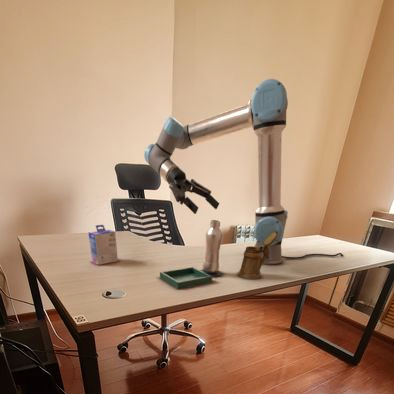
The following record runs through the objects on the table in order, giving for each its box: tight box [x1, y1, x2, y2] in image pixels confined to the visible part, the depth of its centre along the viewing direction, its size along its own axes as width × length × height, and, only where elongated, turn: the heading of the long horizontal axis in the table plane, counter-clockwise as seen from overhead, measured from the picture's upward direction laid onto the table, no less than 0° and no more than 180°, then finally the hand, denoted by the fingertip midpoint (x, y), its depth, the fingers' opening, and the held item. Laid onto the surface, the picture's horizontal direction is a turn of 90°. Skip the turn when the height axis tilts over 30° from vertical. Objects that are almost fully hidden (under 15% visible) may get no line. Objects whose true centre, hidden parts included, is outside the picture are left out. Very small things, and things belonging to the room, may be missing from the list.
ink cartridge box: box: [87, 224, 119, 266], centre depth 126 cm, size 10×6×14 cm, turn 137°
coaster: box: [200, 269, 223, 278], centre depth 126 cm, size 9×9×1 cm
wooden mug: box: [238, 231, 278, 280], centre depth 122 cm, size 9×14×18 cm, turn 101°
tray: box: [159, 266, 213, 290], centre depth 116 cm, size 16×13×2 cm
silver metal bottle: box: [202, 219, 223, 273], centre depth 120 cm, size 6×7×20 cm
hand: (207, 208), depth 122 cm, fingers open, 13 cm apart
